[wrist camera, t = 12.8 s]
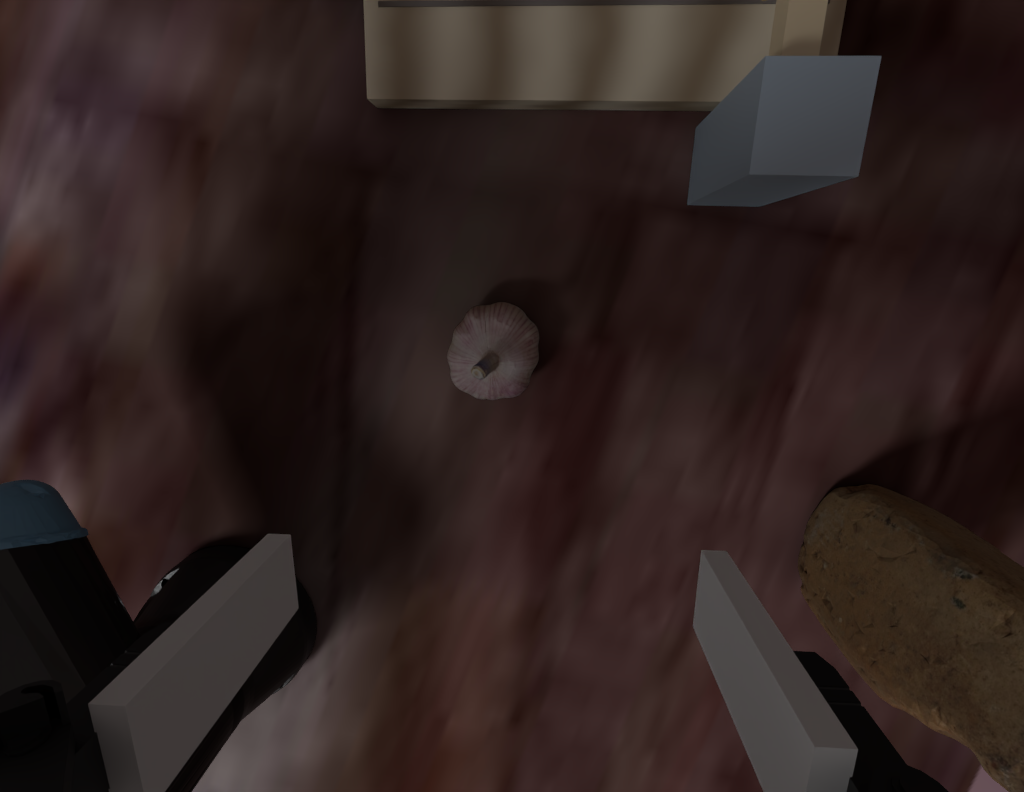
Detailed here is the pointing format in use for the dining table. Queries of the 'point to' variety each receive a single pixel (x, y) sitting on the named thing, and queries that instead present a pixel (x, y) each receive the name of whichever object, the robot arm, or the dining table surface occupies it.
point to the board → (568, 52)
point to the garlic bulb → (493, 351)
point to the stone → (923, 617)
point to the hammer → (786, 119)
